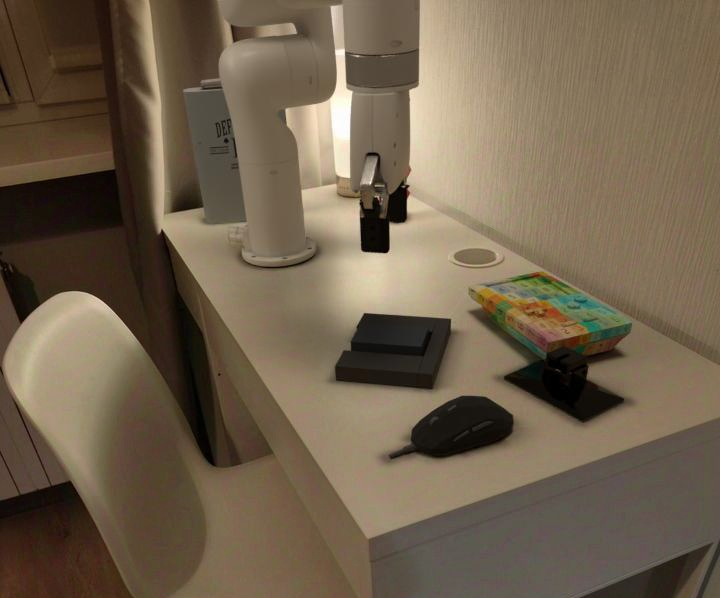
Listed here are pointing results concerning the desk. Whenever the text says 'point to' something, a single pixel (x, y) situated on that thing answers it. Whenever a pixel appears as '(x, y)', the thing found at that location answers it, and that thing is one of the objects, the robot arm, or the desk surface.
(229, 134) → the flask
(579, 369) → the build plate
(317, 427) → the desk surface
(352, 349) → the slate block
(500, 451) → the desk surface
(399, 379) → the charcoal u-shaped block
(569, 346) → the puzzle game
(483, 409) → the gaming mouse
